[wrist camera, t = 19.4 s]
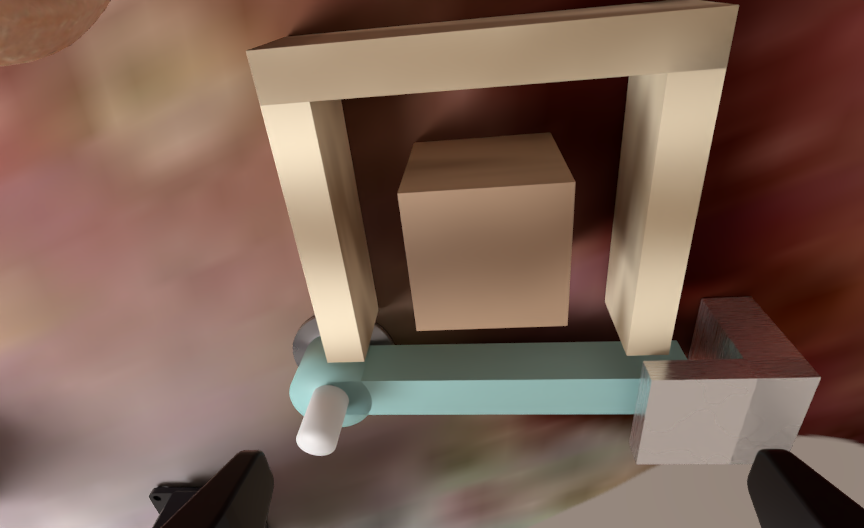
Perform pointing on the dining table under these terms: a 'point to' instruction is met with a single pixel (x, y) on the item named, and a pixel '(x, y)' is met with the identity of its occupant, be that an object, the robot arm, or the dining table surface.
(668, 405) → the grey hooked piece
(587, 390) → the link
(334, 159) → the cream c-clamp frame
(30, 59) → the ceramic jug
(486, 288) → the light wood block
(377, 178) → the dining table surface
